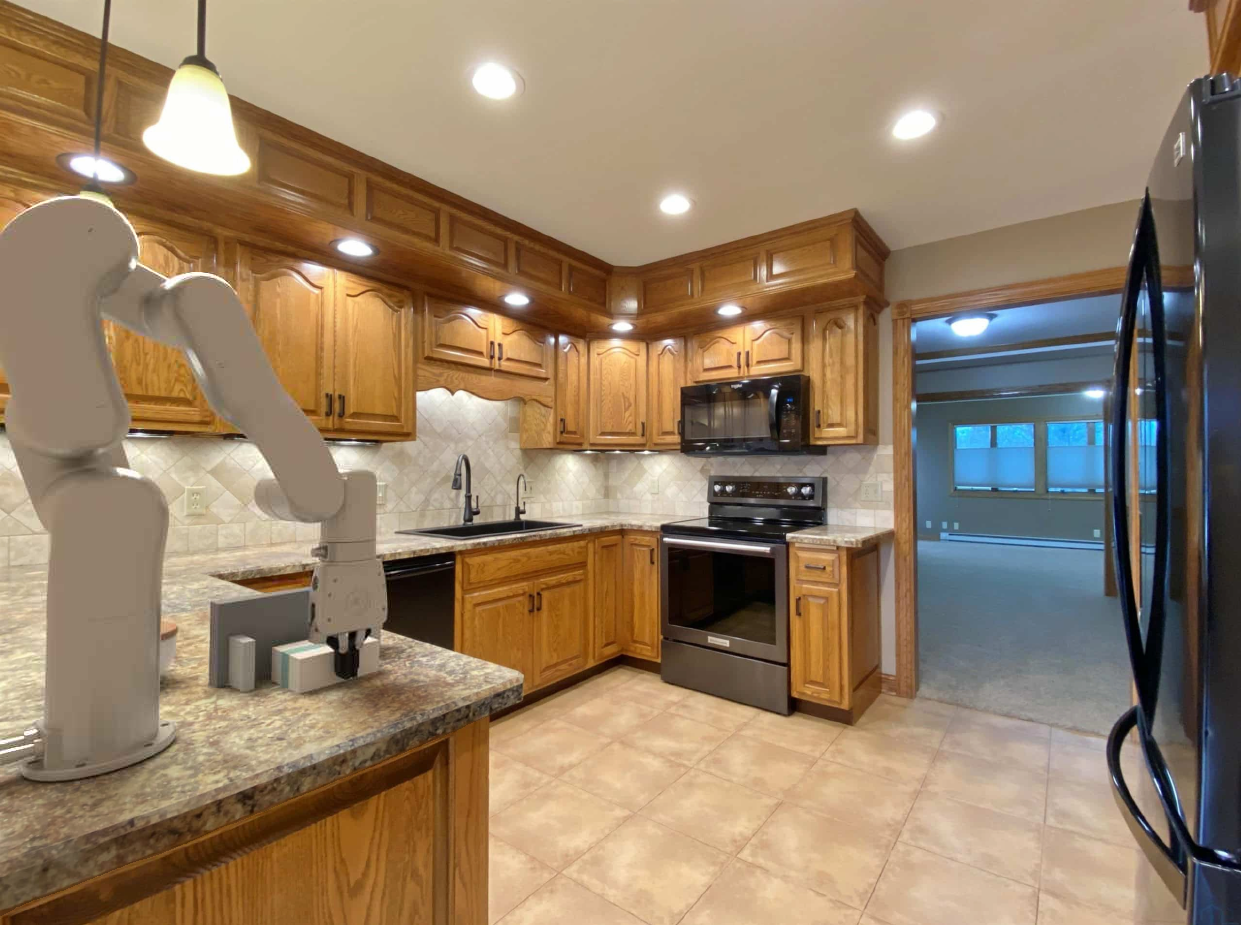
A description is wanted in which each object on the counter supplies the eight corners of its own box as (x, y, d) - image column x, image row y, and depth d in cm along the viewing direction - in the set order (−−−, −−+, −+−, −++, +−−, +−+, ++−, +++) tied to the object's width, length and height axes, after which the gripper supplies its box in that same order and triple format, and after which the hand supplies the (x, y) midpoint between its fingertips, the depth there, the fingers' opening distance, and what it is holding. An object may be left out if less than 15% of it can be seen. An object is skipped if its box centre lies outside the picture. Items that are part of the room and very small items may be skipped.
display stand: (230, 695, 80) (232, 609, 80) (208, 682, 84) (210, 601, 85) (388, 652, 99) (389, 583, 99) (363, 644, 104) (364, 578, 104)
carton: (298, 695, 81) (299, 659, 81) (271, 680, 86) (271, 647, 86) (378, 671, 90) (379, 639, 90) (349, 660, 96) (349, 630, 96)
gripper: (309, 560, 77) (306, 698, 76) (408, 549, 89) (406, 668, 88) (283, 555, 81) (281, 685, 81) (381, 545, 93) (379, 658, 93)
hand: (346, 676), depth 84 cm, fingers closed
